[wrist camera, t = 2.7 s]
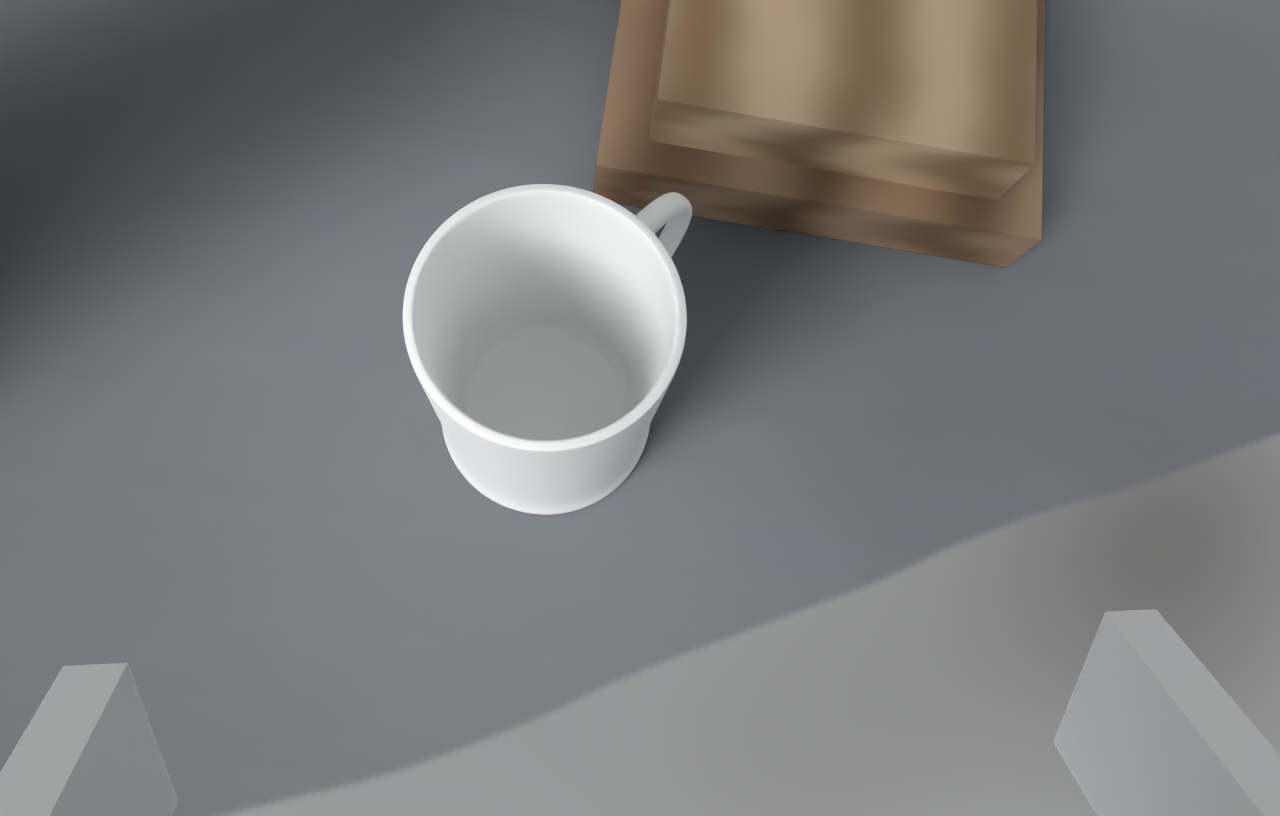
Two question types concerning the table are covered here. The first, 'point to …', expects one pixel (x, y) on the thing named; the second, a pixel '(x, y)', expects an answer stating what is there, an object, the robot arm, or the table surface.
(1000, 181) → the pedestal
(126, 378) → the table surface
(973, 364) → the table surface
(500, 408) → the mug
